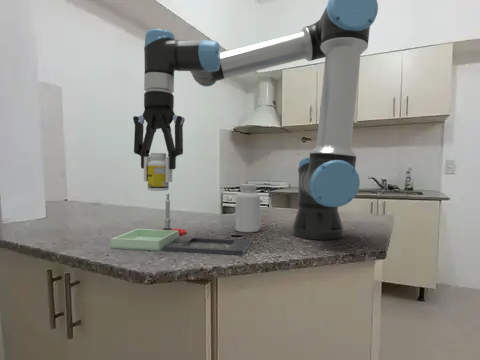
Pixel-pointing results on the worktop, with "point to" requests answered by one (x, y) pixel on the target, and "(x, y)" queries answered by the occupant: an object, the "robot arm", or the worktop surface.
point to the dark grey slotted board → (235, 249)
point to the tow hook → (167, 220)
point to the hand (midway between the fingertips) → (158, 181)
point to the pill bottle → (247, 209)
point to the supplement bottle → (157, 172)
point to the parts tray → (144, 239)
